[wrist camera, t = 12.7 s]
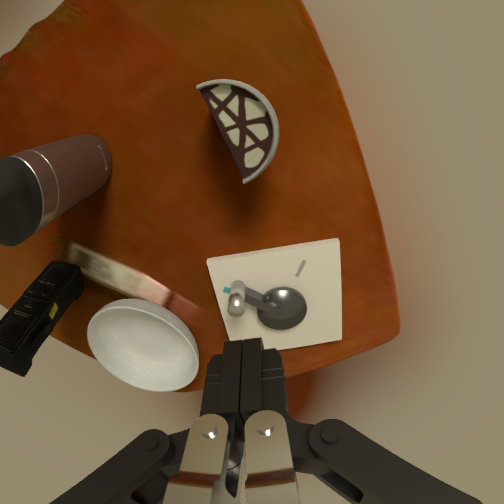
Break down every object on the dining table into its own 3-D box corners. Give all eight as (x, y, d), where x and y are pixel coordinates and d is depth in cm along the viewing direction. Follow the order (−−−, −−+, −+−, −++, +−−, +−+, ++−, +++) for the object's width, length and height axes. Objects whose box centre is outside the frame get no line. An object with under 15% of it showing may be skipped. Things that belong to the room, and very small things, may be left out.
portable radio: (84, 263, 47) (5, 362, 25) (89, 292, 50) (23, 392, 27) (51, 258, 47) (-30, 345, 24) (57, 285, 49) (-13, 375, 27)
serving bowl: (166, 267, 47) (154, 291, 41) (222, 355, 56) (219, 382, 50) (81, 302, 51) (65, 324, 45) (139, 374, 60) (131, 397, 54)
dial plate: (234, 350, 55) (234, 355, 54) (207, 258, 46) (206, 262, 45) (340, 335, 53) (341, 339, 52) (337, 237, 45) (339, 241, 43)
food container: (289, 152, 39) (299, 165, 30) (247, 169, 40) (245, 188, 31) (251, 70, 34) (250, 57, 25) (208, 89, 35) (193, 83, 26)
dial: (315, 299, 48) (322, 323, 42) (288, 332, 51) (291, 357, 46) (243, 263, 45) (242, 285, 40) (219, 301, 48) (215, 325, 43)
